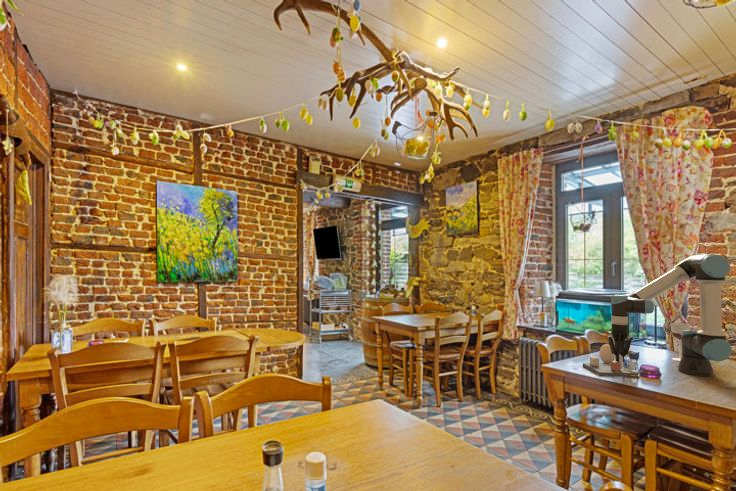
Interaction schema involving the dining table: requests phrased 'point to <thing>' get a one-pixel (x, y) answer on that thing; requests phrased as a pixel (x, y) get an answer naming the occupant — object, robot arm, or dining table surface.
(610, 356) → the egg
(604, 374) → the beige flat board
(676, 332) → the wineglass
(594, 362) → the fader
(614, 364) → the fader
